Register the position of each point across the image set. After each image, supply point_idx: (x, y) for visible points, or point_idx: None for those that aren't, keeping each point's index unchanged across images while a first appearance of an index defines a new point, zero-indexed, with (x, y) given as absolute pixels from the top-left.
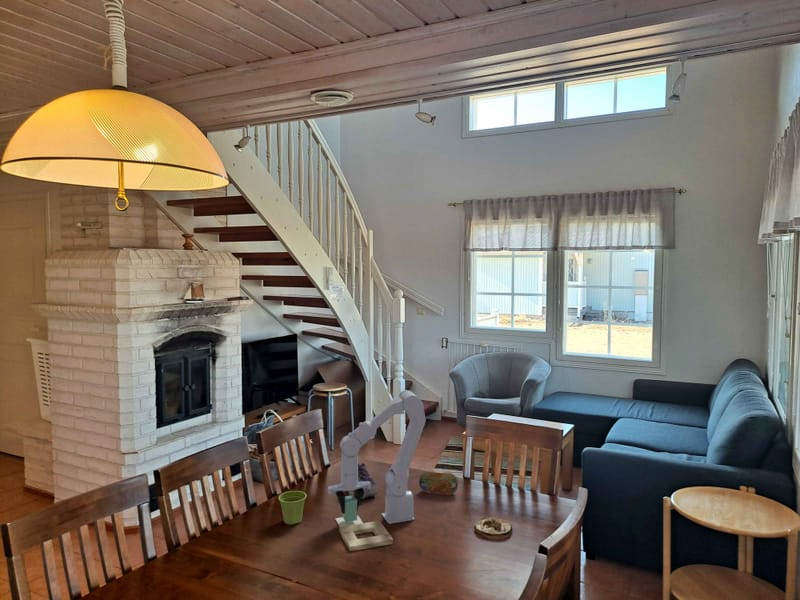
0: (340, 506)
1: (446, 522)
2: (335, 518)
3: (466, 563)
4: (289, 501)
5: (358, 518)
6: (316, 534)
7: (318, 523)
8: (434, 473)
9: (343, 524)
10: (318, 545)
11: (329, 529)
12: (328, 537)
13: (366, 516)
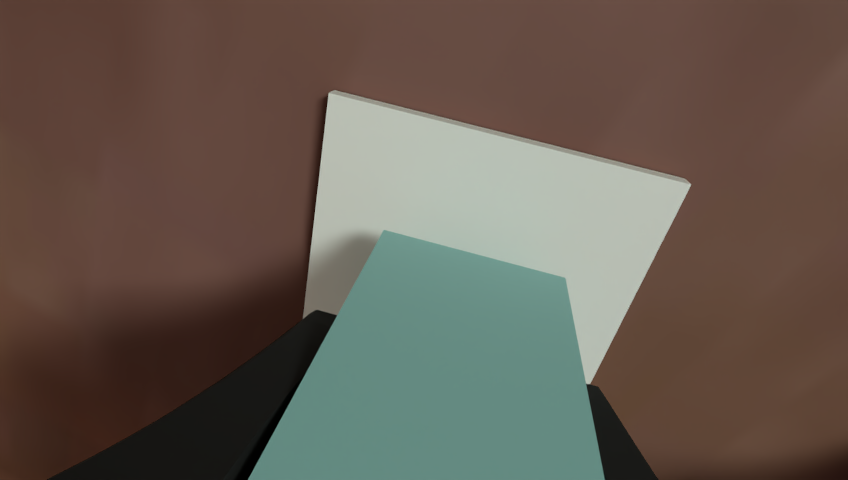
0: (259, 356)
1: None
2: (329, 94)
3: None
4: None
5: (614, 285)
6: (50, 296)
7: (89, 66)
8: None
9: None
10: (58, 444)
11: (190, 284)
12: (151, 399)
13: (778, 260)
